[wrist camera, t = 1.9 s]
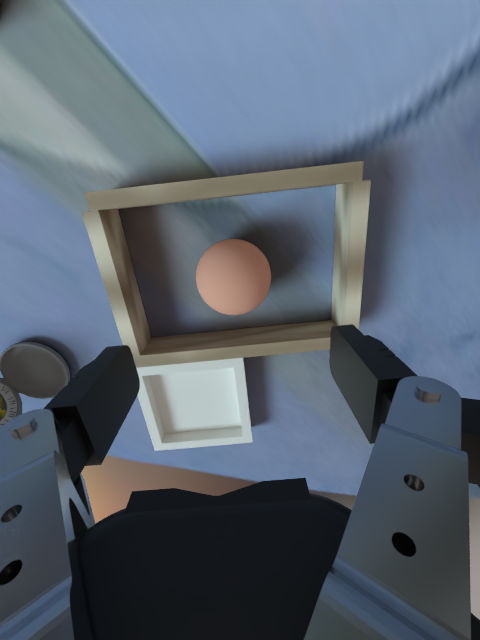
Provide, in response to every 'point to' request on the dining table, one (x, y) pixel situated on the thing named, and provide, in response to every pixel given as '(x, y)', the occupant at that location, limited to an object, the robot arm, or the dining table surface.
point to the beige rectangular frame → (236, 342)
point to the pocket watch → (29, 376)
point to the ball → (233, 277)
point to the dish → (196, 404)
